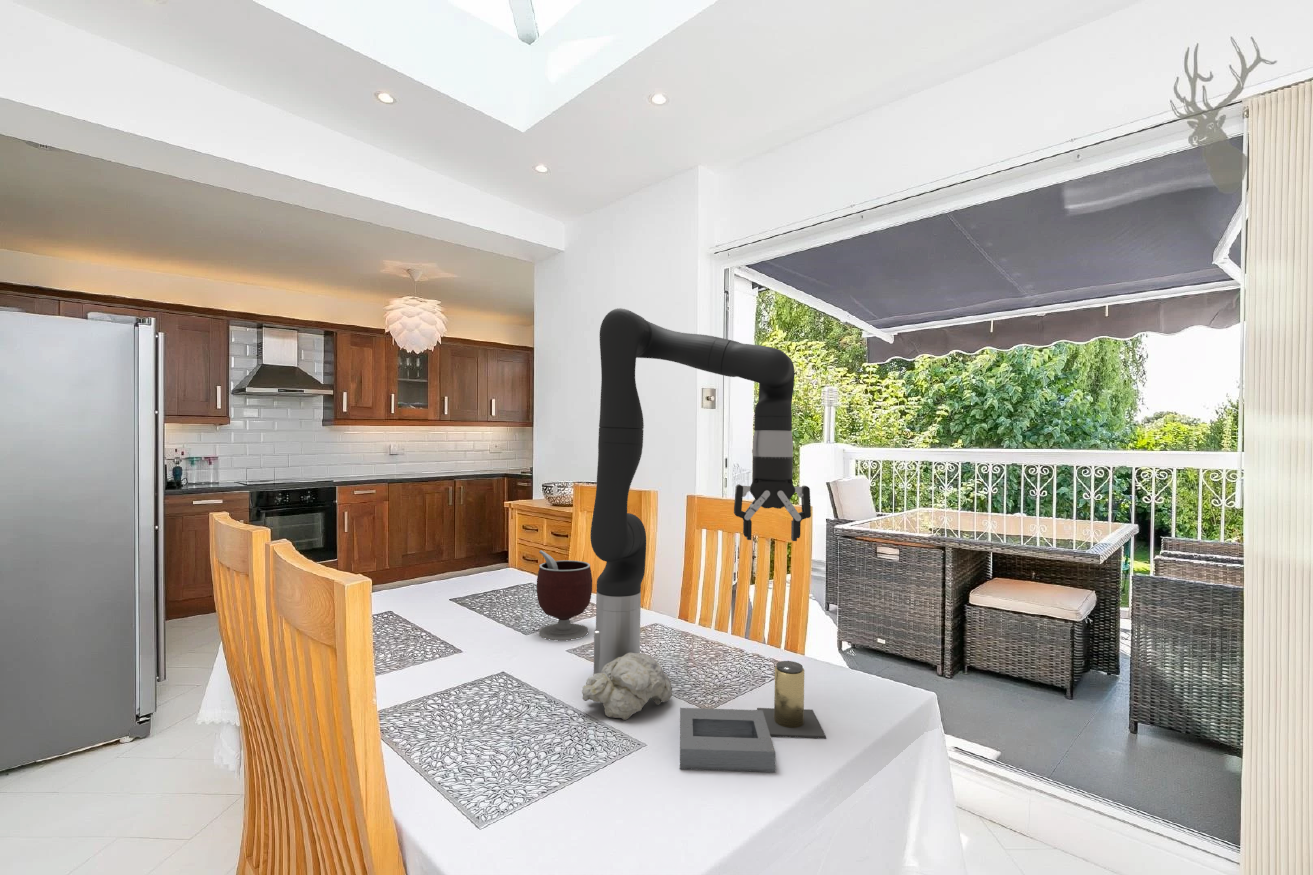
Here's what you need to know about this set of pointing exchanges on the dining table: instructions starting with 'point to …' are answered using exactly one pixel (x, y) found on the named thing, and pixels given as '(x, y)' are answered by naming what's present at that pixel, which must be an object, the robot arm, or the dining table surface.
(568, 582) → the mate gourd
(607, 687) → the mineral
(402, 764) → the dining table surface
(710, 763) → the block
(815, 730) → the mat
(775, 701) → the tan cylinder
